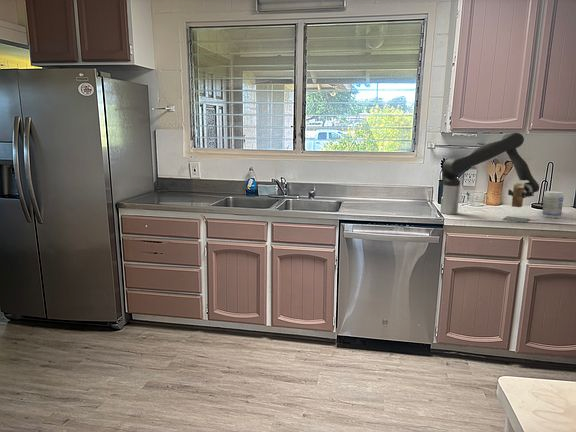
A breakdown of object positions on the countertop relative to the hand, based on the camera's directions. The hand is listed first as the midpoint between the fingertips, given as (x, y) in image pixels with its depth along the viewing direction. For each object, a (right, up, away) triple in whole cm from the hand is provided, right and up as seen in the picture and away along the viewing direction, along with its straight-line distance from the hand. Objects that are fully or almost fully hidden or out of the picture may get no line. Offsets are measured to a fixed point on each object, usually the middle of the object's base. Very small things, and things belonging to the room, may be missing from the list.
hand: (517, 194), depth 234 cm
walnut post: (+2, -6, +4) cm, 7 cm away
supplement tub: (+25, -13, +10) cm, 30 cm away
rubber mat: (+1, -14, +2) cm, 14 cm away
